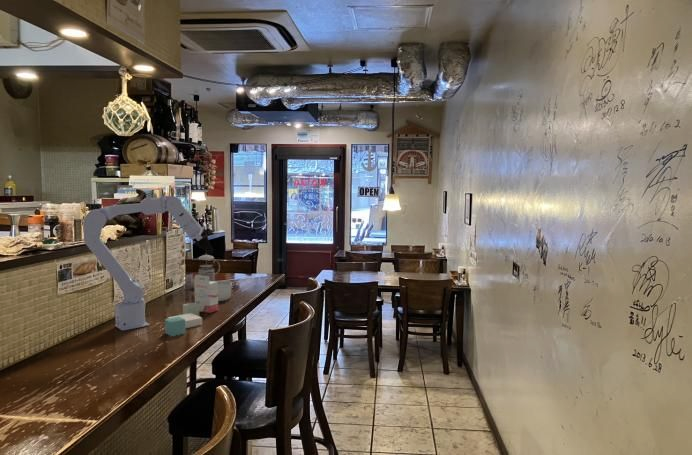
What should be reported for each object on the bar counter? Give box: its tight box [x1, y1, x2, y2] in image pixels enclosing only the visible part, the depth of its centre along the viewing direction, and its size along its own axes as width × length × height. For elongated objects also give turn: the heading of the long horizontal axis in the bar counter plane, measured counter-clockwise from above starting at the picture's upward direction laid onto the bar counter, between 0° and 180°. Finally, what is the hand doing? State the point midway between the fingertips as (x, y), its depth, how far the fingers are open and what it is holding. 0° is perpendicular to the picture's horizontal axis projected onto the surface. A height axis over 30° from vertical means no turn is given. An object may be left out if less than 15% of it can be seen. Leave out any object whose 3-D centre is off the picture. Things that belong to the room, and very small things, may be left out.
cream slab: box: [167, 313, 203, 329], centre depth 173 cm, size 9×9×3 cm
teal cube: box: [164, 317, 186, 337], centre depth 163 cm, size 5×5×5 cm
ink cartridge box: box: [193, 274, 219, 314], centre depth 192 cm, size 9×5×15 cm, turn 62°
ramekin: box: [211, 280, 233, 302], centre depth 213 cm, size 13×13×7 cm
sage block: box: [182, 302, 200, 317], centre depth 185 cm, size 4×4×4 cm
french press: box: [197, 254, 221, 281], centre depth 244 cm, size 10×12×25 cm
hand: (211, 251), depth 181 cm, fingers open, 7 cm apart
